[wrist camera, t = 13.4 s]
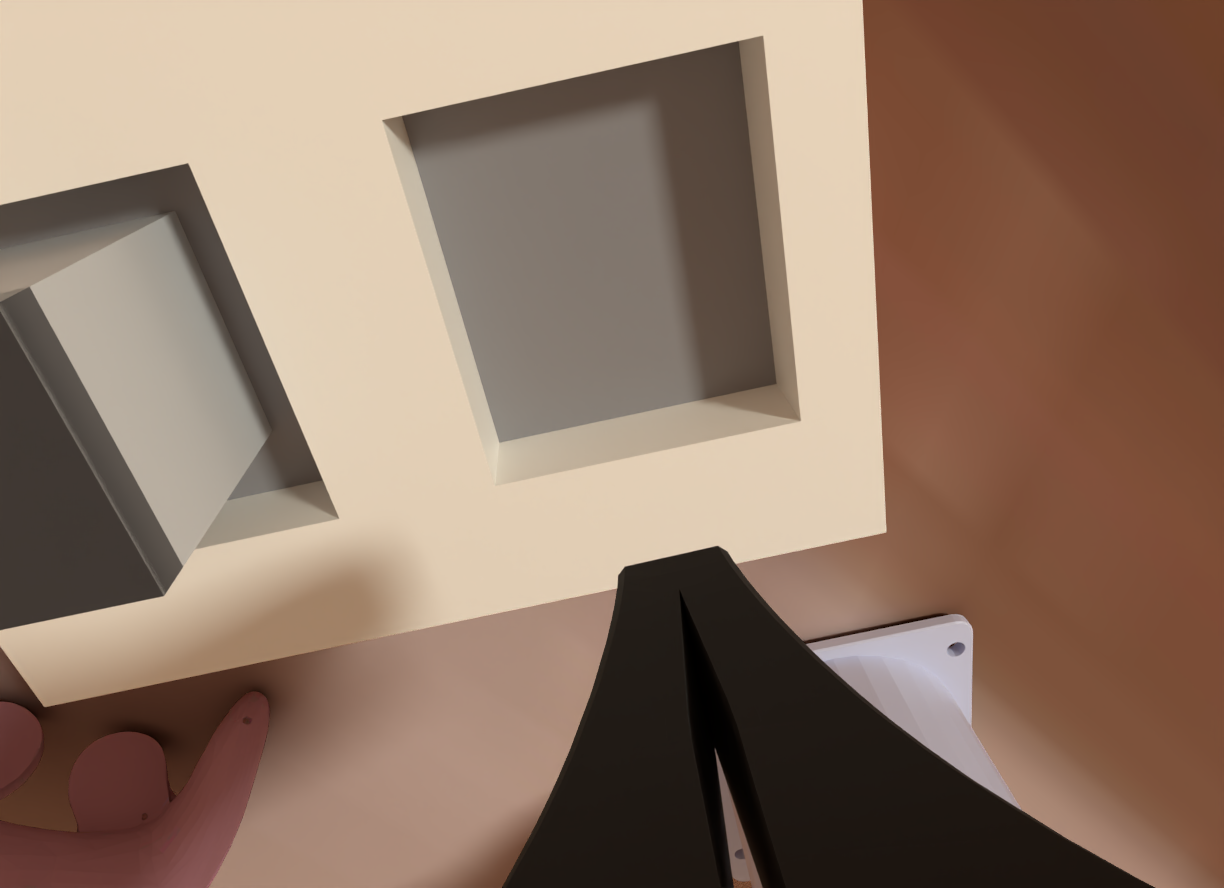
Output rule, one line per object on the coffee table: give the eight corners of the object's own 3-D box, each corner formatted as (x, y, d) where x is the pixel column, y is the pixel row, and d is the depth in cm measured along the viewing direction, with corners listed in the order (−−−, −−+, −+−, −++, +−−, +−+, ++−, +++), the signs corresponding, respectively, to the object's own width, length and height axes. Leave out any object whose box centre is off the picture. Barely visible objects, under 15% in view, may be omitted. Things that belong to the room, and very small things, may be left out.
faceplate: (849, 478, 21) (886, 532, 19) (95, 636, 21) (44, 707, 19) (804, -194, 14) (851, -233, 12) (-281, 53, 15) (-425, 59, 13)
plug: (272, 430, 18) (164, 596, 13) (119, 463, 19) (-51, 640, 13) (175, 210, 16) (-5, 303, 11) (0, 249, 16) (-264, 360, 11)
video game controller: (-82, 646, 23) (-278, 931, 19) (-124, 580, 20) (-377, 912, 15) (273, 733, 25) (173, 1002, 21) (290, 688, 22) (175, 999, 18)
